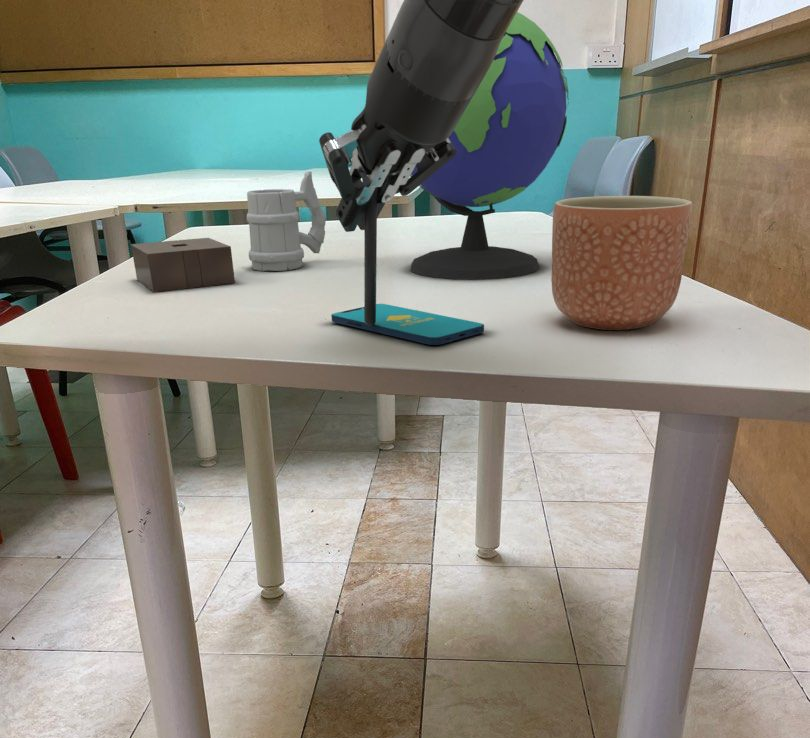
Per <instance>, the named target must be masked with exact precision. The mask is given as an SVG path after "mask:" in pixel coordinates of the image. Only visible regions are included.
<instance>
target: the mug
mask: <svg viewBox="0 0 810 738" xmlns="http://www.w3.org/2000/svg"><path fill="white" fill-rule="evenodd" d="M303 175H304V176H303V178H302V180H301V182H300V187H299V191H295V190H294V189H291V188H290V189H289V188H288V189H286V188H285V189H284V188H281V189H280V188H271V189H270V188H268V189H255V190H248V191H247V192H246V201H247V213H246V221H247V223H248V226H249V242H250V243H249V244H250V249H249V250H248V260H249V261H250V262H251V267H252V269H253V270H254V271H259V272H283V271H292V270H297V269H300V268H302V267H303V265H304V263H303V259H304V258H305V252H304V248H302V246H301V245H303V246H305V247H307V248H309V250H310V251H311V252H312V253H313V254H320V252H321V247H322V245H323V244H324V241H325V236H326V230H325V228H326V227H325V226H326V222H327V221H326V215H325V214H324V210H323V208H322V205H321V203H320V200H319V198H318V195H317V191H316V188H315V185H314V182H313V171H311V170H308V171H305V172H304V174H303ZM299 201H300V202H301V201H303V203H304V204H305V206H306V208H307V209H309V212H310V215H311V216H310V218H311V227H310V228H309V231H308V232H307V233H305V232H301V231H300V230H299V220H300V213H299V211H298V210H297V202H299Z"/></svg>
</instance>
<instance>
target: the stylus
mask: <svg viewBox="0 0 810 738" xmlns="http://www.w3.org/2000/svg"><path fill="white" fill-rule="evenodd" d="M367 204H368V205H367V206H366V208H365V227H364V230H363V231H364V232H363V233H364V235H363V236H364V238H363V239H364V245H363V246H364V247H363V248H364V250H363V251H364V254H363V255H364V258H363V259H364V261H363V262H364V267H363V268H364V269H363V271H364V273H363V274H364V275H363V277H364V278H363V279H364V281H363V283H364V286H363V287H364V289H363V290H364V291H363V292H364V293H363V294H364V300H363V302H364V304H363V305H364V306H363V307H364V321H365V323H366V324H367V325H369V326H371V325H374V324H375V322H376V304H377V257H378V256H377V254H378V253H377V252H378V251H377V249H378V247H377V243H378V241H377V239H378V233H377V232H378V218H377V187H376V188H375V190H374V192H373V194H372V196H371V198H370V199H369V201H368V202H367Z"/></svg>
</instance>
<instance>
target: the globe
mask: <svg viewBox="0 0 810 738" xmlns="http://www.w3.org/2000/svg"><path fill="white" fill-rule="evenodd" d="M563 67H564V66H563V62H562V58H561V56H560V54H559V52H558V51H557V48H556V47H555V45H554V43H553V42H552V41H551V39H550V38H549V37H548V36H547V34H546V33H545V31H544V30H543V29H542V28H540V27H539V25H538V24H537V23H536V22H534V21H533V20H532V19H530V18H528V17H527V16H526V15H525V14H522V13H520V12H518V11H517V13H516V15H515V16H514V18H513V20H512V22H511V23H510V25H509V27H508V29H507V30H506V32H505V34H504V36H503V38H502V40H501V43H500V45H499V48H498V50H497V53H496V55H495V57H494V59H493V62H492V64H491V66H490V68H489V69H488V71H487V73H486V75H485V76H484V78H483V80H482V82H481V83H480V85H479V87H478V89H477V90H476V92H475V94H474V95H473V97H472V99H471V101H470V102H469V104H468V106H467V108H466V109H465V111H464V113H463V115H462V116H461V118H460V120H459V122H458V123H457V125H456V127H455V128H454V130H453V132H452V134H451V135H450V136H449V137H448V138H449V140H450V142H451V143H452V145H453V147H454V148H455V150H456V154H455V156H454V157H453V158H452V159H451V160H449V161H448V162H447V163H446V164H445V165H443V166H442V167H441V168H440V169H439V170H437V171H436V172H435V173H434V174H433V175H431V176H430V177H429V178H428V179H427V180H425V181H424V182H423V183H422V184H421V185H419V186H418V187H420V188H421V189H422V190H423V191H425V192H426V193H427V194H429V195H431V196H432V197H433V198H434V199H435V200H436V201H437V203H439V204H440V205H442V207H444V208H445V209H446V210H448V211H450V212H451V213H454V214H457V215H460V216H463V217H467V218H466V223H465V228H464V232H463V236H462V240H461V245H460V246H457V247H449V248H443V249H437V250H433V251H432V250H431V251H429V252H426V253H425V254H422V255H420V256H417V257H415V258H413V260H412V262H411V264H410V268H409V271H410V272H411V273H413V274H415V275H419V276H422V277H429V278H435V279H447V280H492V279H494V280H496V279H505V278H514V277H521V276H525V275H529V274H533V273H536V272H538V271H539V270H540V269H541V266H540V264H539V261H538V258H537V257H535V255H533V254H529V253H526V252H524V251H521V250H517V249H514V248H508V247H507V248H506V247H499V246H493V245H489V242H488V237H487V231H486V226H485V221H484V216H487V215H491V214H495V213H496V209H495V208H494V207H493V206H494V205H497V204H501V203H504V202H506V201H508V200H510V199H512V198H514V197H516V196H518V195H519V194H521V193H522V192H524V191H525V190H526V189H527V188H528V187H530V186H531V185H532V184H533V183H535V181H536V180H537V179H538V178H539V176H540V175H541V174H542V173H543V171H544V170H545V169H546V168H547V166H548V164H549V163H550V161H551V159H553V156H554V155H555V153H556V151H557V150H558V148H560V145H561V142H562V140H563V138H564V134H565V132H566V126H567V122H568V121H567V120H568V118H567V114H566V113H567V106H569V103H570V102H569V86H568V80H567V77H566V76H565V71H564V69H563ZM416 172H417V166H415V168H414V170H413V171H412V173H411V175H410V177H411V176H413V175H414V174H415V173H416ZM410 177H409V178H410ZM483 207H489V209H485V210H473V209H471V208H483Z"/></svg>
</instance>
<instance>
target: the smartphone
mask: <svg viewBox="0 0 810 738" xmlns="http://www.w3.org/2000/svg"><path fill="white" fill-rule="evenodd" d="M330 317H331V322H332V323H336V324H340V325H344V326H348V327H352V328H356V329H362V330H365V331H370V332H374V333H378V334H382V335H387V336H391V337H395V338H398V339H399V338H400V339H404V340H408V341H413V342H417V343H421V344H425V345H429V346H438V345H444V344H447V343H450V342H451V343H452V342H454V341H457V340H461V339H465V338H469V337H472V336H476V335H479V334H482V333H484V332H485V324H484V323H481V322H478V321H472V320H467V319H462V318H457V317H452V316H447V315H443V314H437V313H433V312H427V311H422V310H418V309H417V310H416V309H412V308H407V307H401V306H397V305H391V304H388V303H376V322H375V324H374V325H371V326H369V325H367V324H366V323H365V321H364V306H361V307H356V308H353V309H348V310H344V311H338V312H334V313H332V314H331V315H330Z"/></svg>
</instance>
